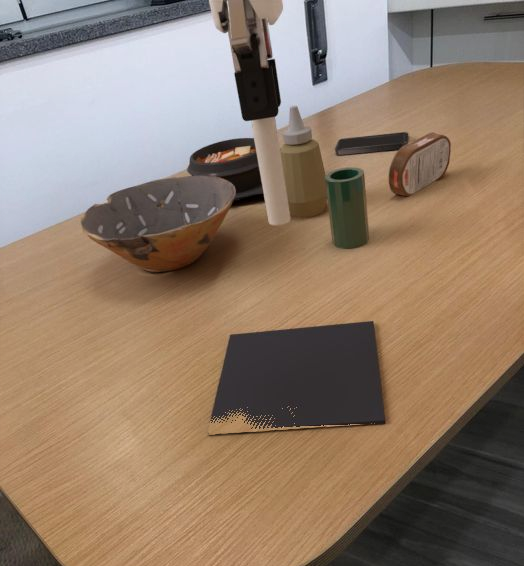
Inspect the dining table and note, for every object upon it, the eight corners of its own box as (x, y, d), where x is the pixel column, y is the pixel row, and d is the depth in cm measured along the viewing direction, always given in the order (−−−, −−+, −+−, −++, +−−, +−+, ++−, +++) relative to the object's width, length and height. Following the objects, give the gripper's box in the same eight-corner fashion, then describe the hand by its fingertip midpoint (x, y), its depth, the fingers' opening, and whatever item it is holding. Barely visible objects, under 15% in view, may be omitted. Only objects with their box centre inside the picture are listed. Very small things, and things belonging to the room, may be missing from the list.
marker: (292, 214, 61) (266, 40, 52) (290, 224, 59) (263, 45, 50) (268, 217, 61) (239, 45, 52) (266, 227, 59) (235, 50, 50)
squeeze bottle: (296, 203, 110) (281, 101, 99) (337, 204, 106) (326, 98, 96) (277, 222, 104) (259, 115, 94) (321, 224, 100) (307, 113, 90)
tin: (438, 172, 110) (438, 125, 106) (454, 174, 108) (454, 126, 103) (387, 202, 103) (385, 153, 98) (403, 205, 101) (401, 155, 96)
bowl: (228, 294, 86) (213, 230, 80) (74, 303, 92) (50, 244, 86) (260, 221, 106) (249, 165, 100) (131, 232, 112) (115, 180, 106)
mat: (373, 324, 73) (373, 320, 73) (385, 424, 59) (385, 420, 59) (230, 337, 76) (230, 334, 76) (208, 435, 62) (207, 432, 62)
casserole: (161, 212, 118) (149, 170, 113) (198, 177, 132) (189, 139, 127) (280, 208, 109) (273, 163, 104) (307, 171, 123) (302, 129, 118)
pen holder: (368, 233, 94) (363, 165, 88) (370, 249, 90) (365, 178, 83) (332, 238, 95) (324, 170, 89) (333, 254, 91) (324, 183, 84)
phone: (406, 143, 123) (334, 150, 127) (407, 148, 123) (334, 155, 128) (408, 131, 129) (339, 138, 133) (408, 136, 129) (339, 143, 134)
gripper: (260, -173, 37) (300, 133, 47) (278, -149, 50) (307, 86, 60) (143, -145, 38) (207, 146, 48) (191, -129, 51) (233, 98, 61)
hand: (262, 111), depth 54 cm, fingers closed on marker, 2 cm apart
